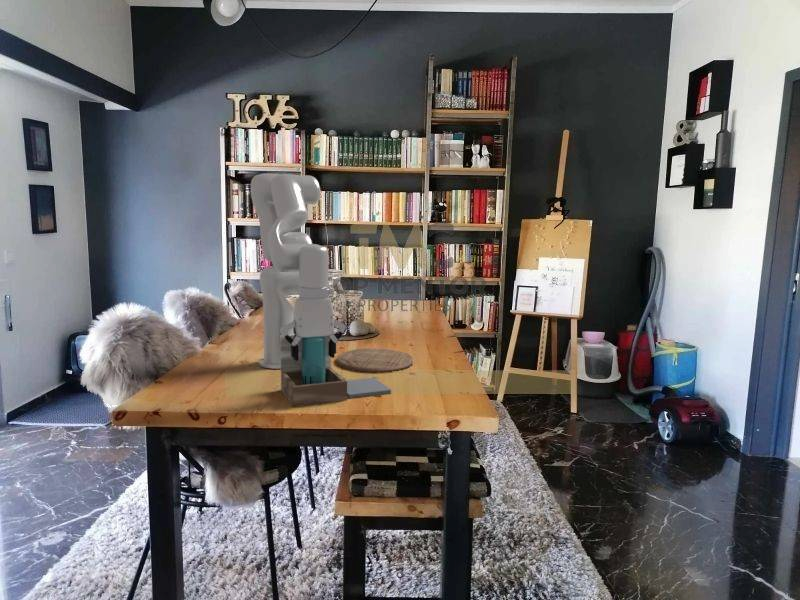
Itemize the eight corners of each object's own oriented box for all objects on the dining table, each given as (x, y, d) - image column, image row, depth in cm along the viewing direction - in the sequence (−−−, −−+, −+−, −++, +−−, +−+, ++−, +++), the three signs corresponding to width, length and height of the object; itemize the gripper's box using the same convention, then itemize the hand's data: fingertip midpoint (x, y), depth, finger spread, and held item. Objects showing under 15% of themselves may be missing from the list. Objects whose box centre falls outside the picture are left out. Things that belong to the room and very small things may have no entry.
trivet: (404, 377, 159) (404, 371, 159) (326, 370, 164) (326, 364, 164) (418, 357, 184) (418, 351, 183) (349, 351, 188) (349, 346, 188)
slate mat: (335, 385, 148) (335, 381, 148) (374, 380, 153) (374, 377, 153) (349, 398, 138) (349, 394, 138) (391, 393, 143) (391, 389, 143)
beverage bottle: (326, 391, 143) (327, 319, 140) (324, 399, 137) (324, 323, 134) (302, 390, 143) (302, 318, 140) (299, 398, 136) (299, 323, 133)
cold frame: (280, 389, 144) (280, 335, 141) (329, 383, 149) (330, 332, 147) (293, 406, 130) (293, 347, 128) (346, 400, 136) (347, 343, 134)
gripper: (341, 290, 143) (340, 352, 145) (277, 293, 135) (277, 357, 138) (350, 294, 136) (349, 358, 138) (283, 296, 129) (284, 364, 131)
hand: (313, 358), depth 138 cm, fingers open, 9 cm apart
